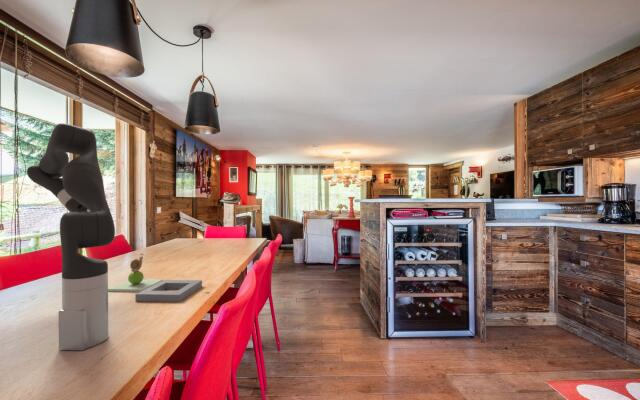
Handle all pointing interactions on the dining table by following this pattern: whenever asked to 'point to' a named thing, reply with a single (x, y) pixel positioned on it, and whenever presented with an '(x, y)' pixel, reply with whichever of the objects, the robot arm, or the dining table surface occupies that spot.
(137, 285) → the green mat
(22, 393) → the dining table surface
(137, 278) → the snail figurine
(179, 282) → the gray square frame
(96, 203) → the robot arm
